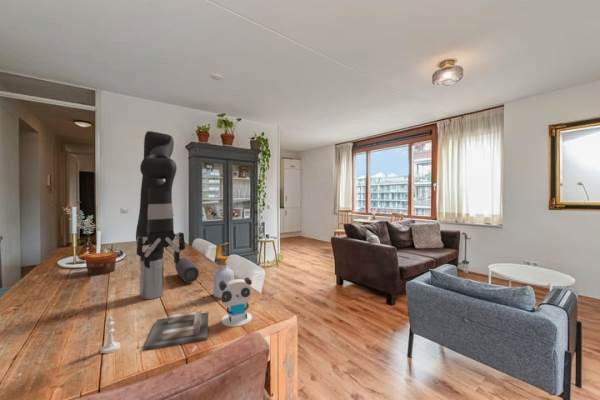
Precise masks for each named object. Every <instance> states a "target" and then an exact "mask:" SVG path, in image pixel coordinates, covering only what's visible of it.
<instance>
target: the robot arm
mask: <svg viewBox="0 0 600 400" xmlns="http://www.w3.org/2000/svg"><path fill="white" fill-rule="evenodd" d="M174 144H175V143H174V138H173V136H171V135H170V134H167V133H163V132H162V133H161V132H158V131H153V130H151V131H150V130H147V131H146V133H145V135H144V140H143V159H142V161H141V163H140V169H139V170H140V173H141V175H142V178H141V185H140V199H139V200H140V201H139V213H138V218H137V225H136V230H135V231H136V232H135V241H136V255H138V257H140V262H139V263H140V275H139V296H140V298H141V299H142V300H152V299H157V298H160V297H162V296H163V295H164V292H165V291H164V289H165V288H164V286H165V285H164V253H165V248H168V247H170V248H171V249H172V250H173V263H174V264H176V263H178V261H179V260H180V259H181V258H180V257H181V256H180V254H181V253H180V252H182V251H184V250H185V249H186V243H185V234H184V232H181V231H179V232H177V233H175V231H174V230H175V229H174V215H175V214H174V207H173V196H172V195H173V194H172V193H173V192H172V190H173V183H174V180H175V177H176V173H177V164H176V162H175V160H174V159H172V158H171V156H172V154H173V151H174ZM164 180H165V181H164ZM175 239H177V240H178V245H179V246H177V245H176V244H175V242H173V241H174V240H175ZM144 246H147V247H146V249H145V250H144V251H143V247H144Z"/></svg>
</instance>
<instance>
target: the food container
mask: <svg viewBox="0 0 600 400" xmlns="http://www.w3.org/2000/svg"><path fill="white" fill-rule="evenodd" d="M117 257H118V253H116V252H114V251H109V252H108V251H107V252H106V251H104V252H97V253H92V254H88V255H86V256H85V257H84V259H83V260H84V261H85V264H86V271H87V274H88V275H89V276H101V275H100V274H103V275H106V273H107V274H111V273H113V272H114V271H115V270H116V262H117ZM110 272H111V273H110Z"/></svg>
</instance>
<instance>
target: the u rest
mask: <svg viewBox="0 0 600 400" xmlns="http://www.w3.org/2000/svg"><path fill="white" fill-rule="evenodd" d="M208 328H209V312H202V310H200V311H192V312H184V313H177V314H169V315H168V317H164V318H157V319H156V321H155V323H154V325H153V327H152V329H151V331H150V334H149V336H148V338H147V341H146V343H145V345H144V350H145V351H147V350H153V349H154V350H155V349H159V348H165V347H171V346H178V345H182V344H188V343H194V342H201V341H206V340H208V332H209V331H208V330H209V329H208Z"/></svg>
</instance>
